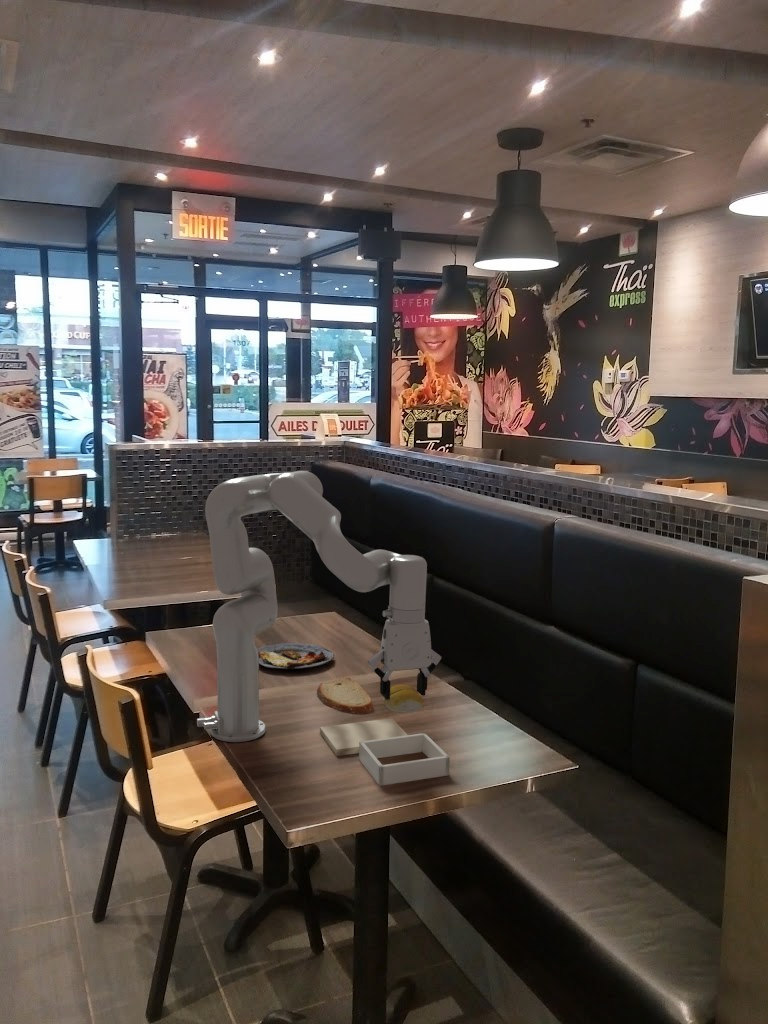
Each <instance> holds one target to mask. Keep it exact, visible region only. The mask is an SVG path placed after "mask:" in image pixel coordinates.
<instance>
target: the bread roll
mask: <svg viewBox="0 0 768 1024" xmlns="http://www.w3.org/2000/svg"><path fill="white" fill-rule="evenodd" d="M382 702H383V705H385V707H387V709H389V711H390V710H391V711H392V712H395V713H397V712H399V713H415V712H417V711H419V710H420V709H421V708H422V707H423V705H424V698H423V697H422V695H421V694H420V693H419V692H418V691H417V689H415V688H414V687H413V686H411V685H406V684H396V685H393V686H390V699H385V698H384V697H383V696H382Z"/></svg>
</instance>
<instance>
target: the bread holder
mask: <svg viewBox="0 0 768 1024" xmlns="http://www.w3.org/2000/svg"><path fill="white" fill-rule="evenodd" d="M416 753H417V754H418V753H423V754H424V755H425V756H426V757H427V758H423V759H415V760H408V761H402V762H396V763H395V762H394V763H389V764H387V763H386V764H382V763H381V761H380V760H378V759H380V758H388V757H395V756H403V755H409V754H416ZM450 759H451V757H450V755H448V754H447V753H446V752H445V750H443V749H442V748H441V747H440V746H439V745H438V744H437V743H436V742H435V741H433V739H432V738H430V737H429V735H427V734H426V732H422V733H415V734H407V735H406V736H399V737H391V738H384V739H376V740H369V741H361V742H359V753H358V761H360V763H362V765H363V767H365V769H366V770H367V771H368V773H369V774H370V775H371V777H372V778H373V779H374V781H375V782H376V783H377V784H378V786H379V787H380V786H381V787H382V786H388V785H393V784H394V785H395V784H402V783H407V782H413V781H420V780H425V779H432V778H433V779H435V778H440V777H446V776H450V761H451V760H450Z"/></svg>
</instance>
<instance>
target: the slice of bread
mask: <svg viewBox="0 0 768 1024" xmlns="http://www.w3.org/2000/svg"><path fill="white" fill-rule="evenodd" d="M316 695H317V697H318V699H319V700H320V701H321V702H322V703H323V704H325V705H328V706H329V708H333V709H334V710H338V711H341V712H344V713H345V712H346V713H350V714H370V713H372V712H374V711H375V707H374V703H373V701H372V698H371V696H370V695H369V693H368V692H367V690H365V688H363V686H361V685H360V684H359V683H358V682H357V681H355V680H354V679H352V678H351V677H345V678H344V677H343V678H340V679H336V680H333V681H331V682H329V683H326V682H325V683H324V682H321V683H320V684H319V685H318V688H317V690H316Z"/></svg>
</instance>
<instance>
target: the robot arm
mask: <svg viewBox="0 0 768 1024" xmlns="http://www.w3.org/2000/svg"><path fill="white" fill-rule="evenodd" d="M323 493H324V488H323V484H322V482H321V480H320V479H319V478H318V476H317V475H315V474H314V473H312V472H310V471H308V470H297V471H296V470H295V471H291V472H280V473H267V474H266V473H265V474H257V475H256V474H255V475H250V476H241V477H240V476H239V477H235V478H231V479H227V480H225V481H223V482H221V483H219V484H217V486H215V487H214V488H213V489H212V490H211V492H210V493H209V495H208V497H207V499H206V501H205V508H204V512H205V519H206V524H207V528H208V529H207V530H208V534H209V544H210V553H211V554H210V555H211V563H212V571H213V578H214V583H215V586H216V589H217V590H218V591H219V592H220V593H221V594H224V595H227V596H233V595H238V594H241V596H240V597H238V598H235V599H232V600H230V601H228V602H225V603H224V604H223V605H221V606H220V607H218V609H217V610H216V612H215V613H214V615H213V619H212V630H213V631H212V632H213V635H214V640H215V646H216V666H217V667H216V669H217V672H216V673H217V675H216V677H217V678H216V679H217V681H216V682H217V684H216V685H217V689H216V690H217V710H215V711H214V715H210V717H199V718H196V726H197V727H199V728H200V727H203V729H204V730H210V735H211V736H212V737H214V739H217V740H219V741H223V742H227V743H242V742H243V743H245V742H248V741H254V740H256V739H258V738H260V737H262V736H263V735H264V734H265V733H266V724H265V722H264V721H262V720H260V664H259V657H258V651H257V649H258V647H257V646H256V643H255V639H254V637H255V636H257V635H259V634H261V633H263V632H266V631H267V630H269V629H271V627H272V626H274V624H275V623H276V620H277V618H278V600H277V588H276V580H275V578H276V577H275V572H274V571H275V570H274V566H273V563H272V560H271V559H270V556H269V555H268V554H267V553H266V552H265V551H263V550H262V549H261V548H258V547H249V537H248V533H247V528H246V527H245V524H244V522H243V521H242V520H241V518H242V517H244V516H246V515H247V516H248V515H251V514H252V515H253V514H257V513H261V512H266V511H267V512H268V511H274V510H275V511H276V510H278V511H279V513H281V514H282V515H283V516H285V518H286V519H287V520H289V521H290V522H292V524H294V525H295V526H296V527H297V528H298V529H299V530H300V531H302V532H303V533H304V534H305V535H306V536H307V537H308V538H309V539H310V540H312V541H313V543H314V546H315V547H314V548H315V549H316V551H317V553H318V555H319V557H320V559H321V561H322V562H323V564H324V565H325V567H326V568H327V569H328V570H329V571H330V572H331V573H332V574H333V575H334V576H336V578H338V579H339V580H340V581H341V582H342V583H344V584H345V586H347V587H348V588H350V589H352V590H354V591H355V592H356V591H357V592H359V593H367V592H368V593H370V592H372V591H374V590H376V589H378V588H380V587H382V586H387V585H389V605H387V608H388V609H386V610H383V611H382V616H383V617H384V618H387V619H386V620H385V624H384V626H383V630H382V631H383V632H382V638H381V641H380V642H381V644H380V645H381V646H380V650H379V651H378V652H377V653H375V654H374V655H373V656H372V657H371V658H369V659H368V660H367V665H368V666H369V668H370V669H372V671H373V672H374V674H376V675H377V676H378V677H379V678H380V682H379V683H380V684H379V693H380V694H381V696H382V698H383V697H384V698H385V699H390V688H391V681H390V680H389V678H391V675H392V673H393V672H400V671H401V672H402V671H412V670H413V671H414V670H419V673H417V675H416V691H417V692H418V694H419V695H420V696H421V697H422V696H423V697H424V696H426V691H427V690H428V679H429V677H430V676H431V673H432V672H433V671H434V670H435V669H436V666H437V665H438V664H439V663H440V661H441V660H442V656H441V655H440V654H438V653H437V652H436V651H434V649H432V641H431V640H432V639H431V630H430V624H429V621H428V620H427V619H426V615H425V614H426V597H427V596H426V594H427V577H428V576H427V572H428V571H427V570H428V568H427V567H428V563H427V561H426V559H425V558H424V557H423V556H419V555H415V554H400V553H396V552H393V551H390V550H386V549H373V550H371V551H369V552H366V553H361V552H360V551H359V550H357V549H356V548H355V547H354V546H353V545H352V544H351V543H350V542H349V541H348V539H346V537H345V536H344V535H343V533H342V530H341V519H342V513H341V512H340V511H339V510H338V509H337V508H336V507H335V506H333V505H332V503H330V502H329V501H328V500H327V499H325V498H324V497H323ZM379 662H380V663H381V664H382V667H381V669H380V667H379V666H378V663H379Z"/></svg>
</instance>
